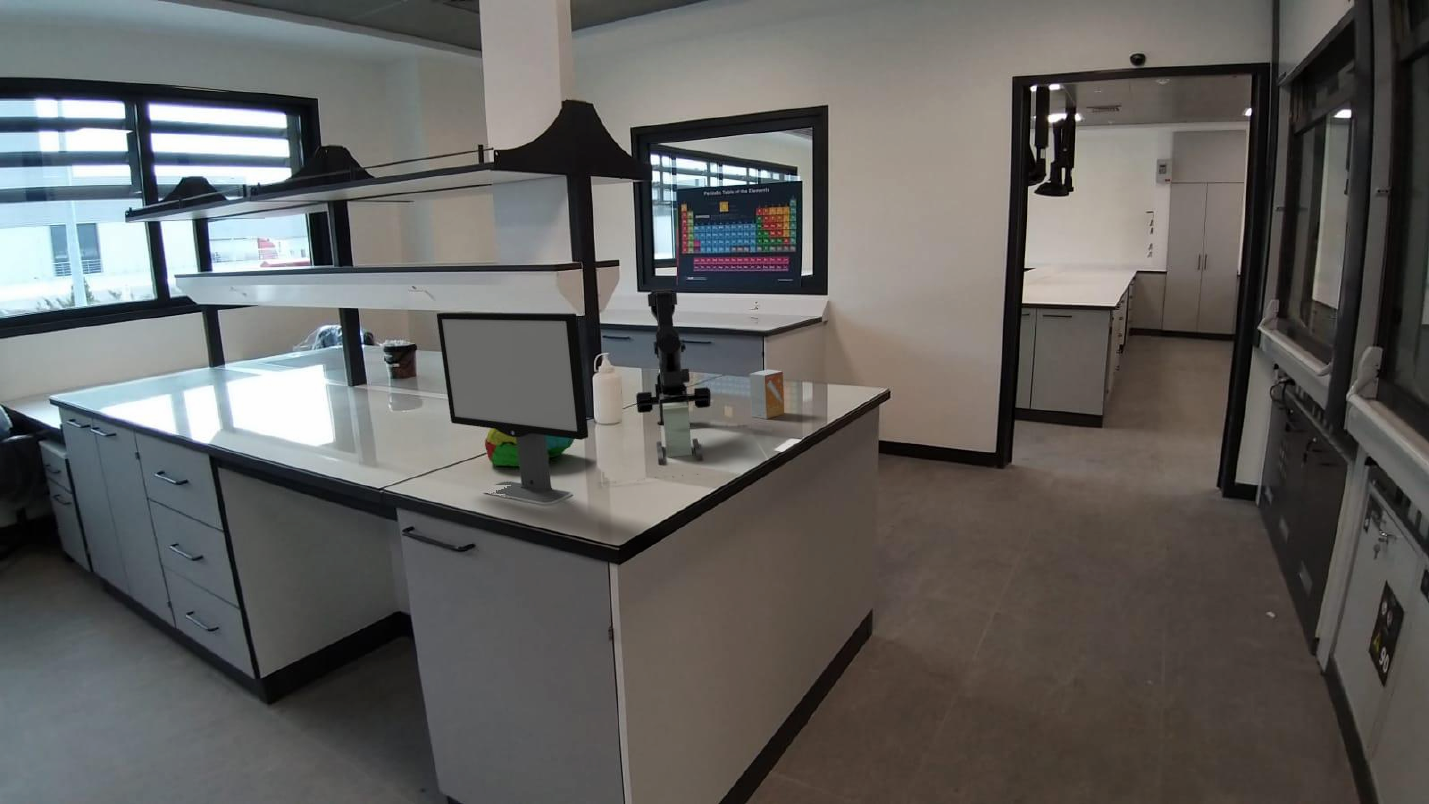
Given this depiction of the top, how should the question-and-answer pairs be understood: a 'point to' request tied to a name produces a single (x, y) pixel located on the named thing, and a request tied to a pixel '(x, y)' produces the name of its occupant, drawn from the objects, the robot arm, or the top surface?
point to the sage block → (677, 429)
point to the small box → (767, 394)
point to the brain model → (505, 447)
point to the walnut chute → (696, 448)
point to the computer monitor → (517, 386)
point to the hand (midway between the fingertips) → (676, 428)
